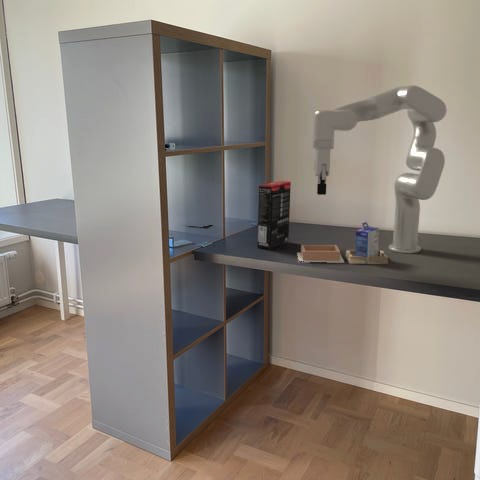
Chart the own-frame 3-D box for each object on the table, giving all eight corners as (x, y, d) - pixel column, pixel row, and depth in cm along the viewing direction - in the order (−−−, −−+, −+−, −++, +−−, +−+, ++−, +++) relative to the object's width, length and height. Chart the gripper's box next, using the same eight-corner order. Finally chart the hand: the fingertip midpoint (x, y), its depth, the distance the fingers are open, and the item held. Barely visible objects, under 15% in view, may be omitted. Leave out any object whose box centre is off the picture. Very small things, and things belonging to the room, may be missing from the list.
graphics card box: (276, 240, 223) (277, 180, 216) (290, 242, 219) (291, 181, 213) (256, 248, 209) (257, 184, 202) (271, 251, 205) (271, 185, 199)
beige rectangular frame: (345, 257, 195) (346, 250, 194) (381, 257, 194) (382, 250, 194) (349, 264, 185) (350, 256, 185) (387, 265, 185) (388, 257, 184)
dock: (296, 254, 199) (297, 244, 198) (339, 255, 198) (340, 244, 197) (298, 263, 187) (299, 252, 186) (344, 263, 186) (344, 252, 185)
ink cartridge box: (364, 256, 195) (366, 220, 192) (378, 258, 192) (380, 221, 189) (353, 261, 188) (355, 224, 184) (367, 264, 184) (369, 226, 181)
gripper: (311, 143, 190) (309, 191, 194) (315, 146, 175) (313, 197, 180) (331, 144, 189) (329, 191, 194) (336, 146, 175) (334, 197, 179)
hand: (321, 194), depth 187 cm, fingers closed
